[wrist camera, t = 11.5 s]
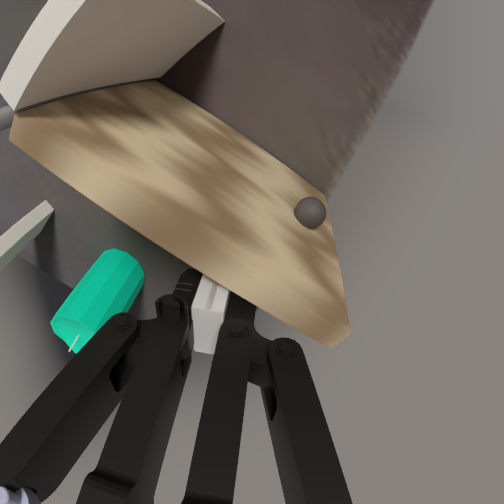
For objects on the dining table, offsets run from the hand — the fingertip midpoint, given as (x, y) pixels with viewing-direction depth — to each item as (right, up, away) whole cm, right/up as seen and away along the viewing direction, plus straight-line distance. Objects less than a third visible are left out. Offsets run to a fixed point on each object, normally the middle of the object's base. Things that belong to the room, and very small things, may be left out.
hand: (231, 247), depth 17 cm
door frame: (-13, +10, +7) cm, 18 cm away
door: (0, +9, +5) cm, 10 cm away
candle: (-14, -2, +15) cm, 20 cm away
